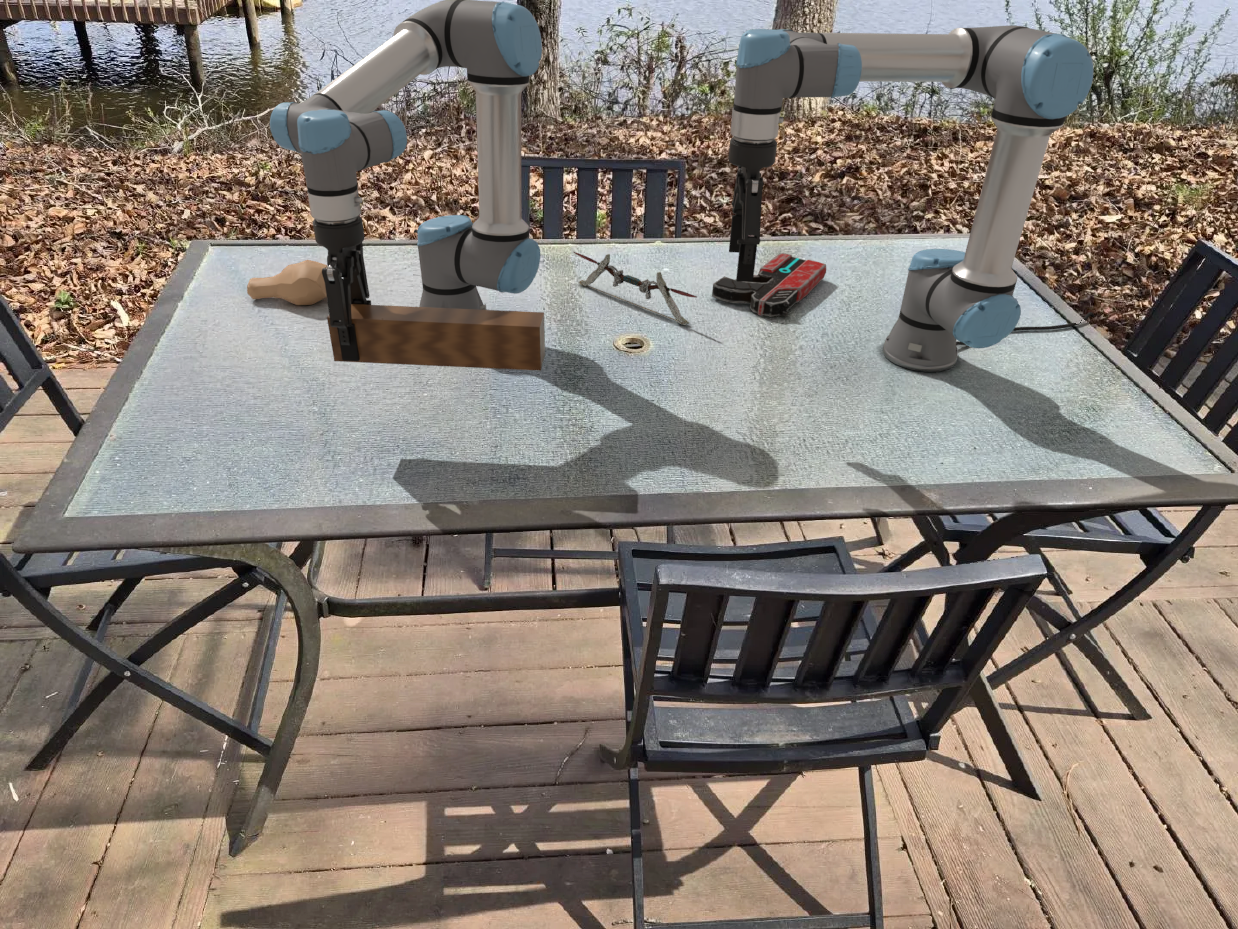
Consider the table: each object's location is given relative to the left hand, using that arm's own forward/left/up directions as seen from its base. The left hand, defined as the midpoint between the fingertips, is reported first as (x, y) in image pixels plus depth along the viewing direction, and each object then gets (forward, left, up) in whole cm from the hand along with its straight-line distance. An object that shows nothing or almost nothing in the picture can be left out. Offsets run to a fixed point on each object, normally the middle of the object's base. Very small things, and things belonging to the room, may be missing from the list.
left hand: (356, 350), depth 150 cm
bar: (+11, +10, -1) cm, 14 cm away
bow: (-8, +75, -16) cm, 77 cm away
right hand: (+39, +54, +13) cm, 67 cm away
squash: (-62, +17, -16) cm, 66 cm away
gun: (+9, +107, -16) cm, 108 cm away
